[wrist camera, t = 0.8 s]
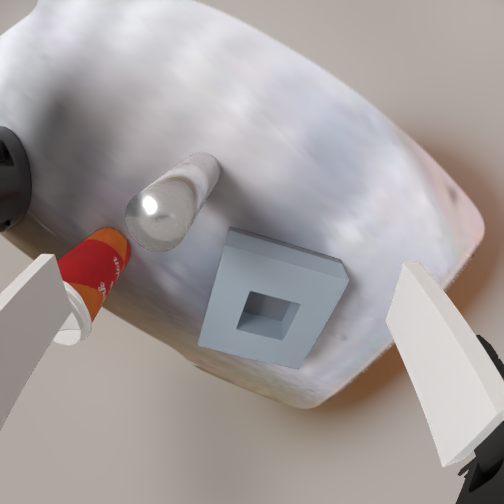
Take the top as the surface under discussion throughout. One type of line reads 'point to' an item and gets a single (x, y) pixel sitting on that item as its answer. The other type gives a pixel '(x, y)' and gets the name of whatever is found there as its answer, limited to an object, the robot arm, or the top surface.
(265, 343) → the socket block
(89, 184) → the top surface
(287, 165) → the top surface
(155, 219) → the pin
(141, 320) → the top surface
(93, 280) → the paper cup
